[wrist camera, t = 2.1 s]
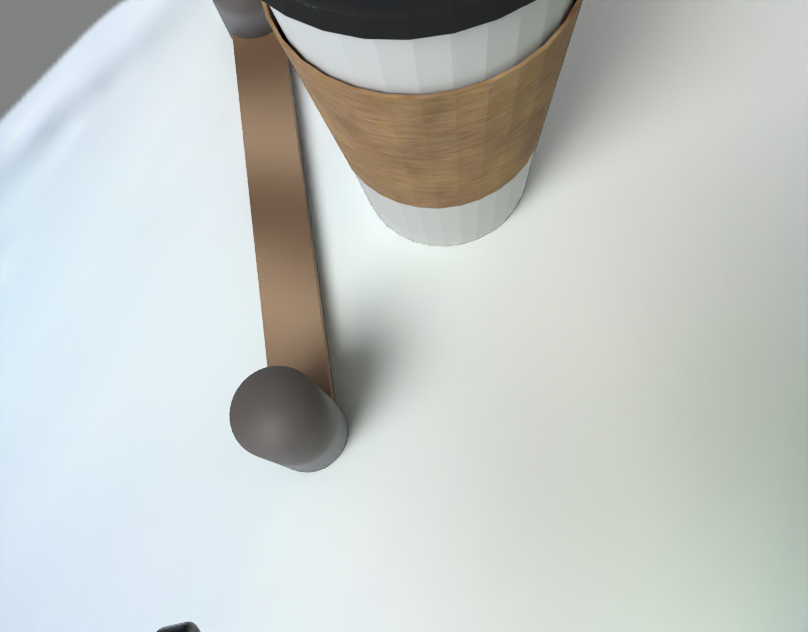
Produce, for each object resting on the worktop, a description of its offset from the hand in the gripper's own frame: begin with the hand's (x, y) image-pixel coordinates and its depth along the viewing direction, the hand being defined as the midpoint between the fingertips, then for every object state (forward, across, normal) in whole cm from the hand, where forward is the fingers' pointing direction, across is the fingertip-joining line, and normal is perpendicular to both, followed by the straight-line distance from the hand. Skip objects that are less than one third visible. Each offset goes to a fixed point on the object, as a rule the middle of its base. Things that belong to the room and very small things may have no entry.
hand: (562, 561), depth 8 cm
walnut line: (+19, +5, 0) cm, 20 cm away
